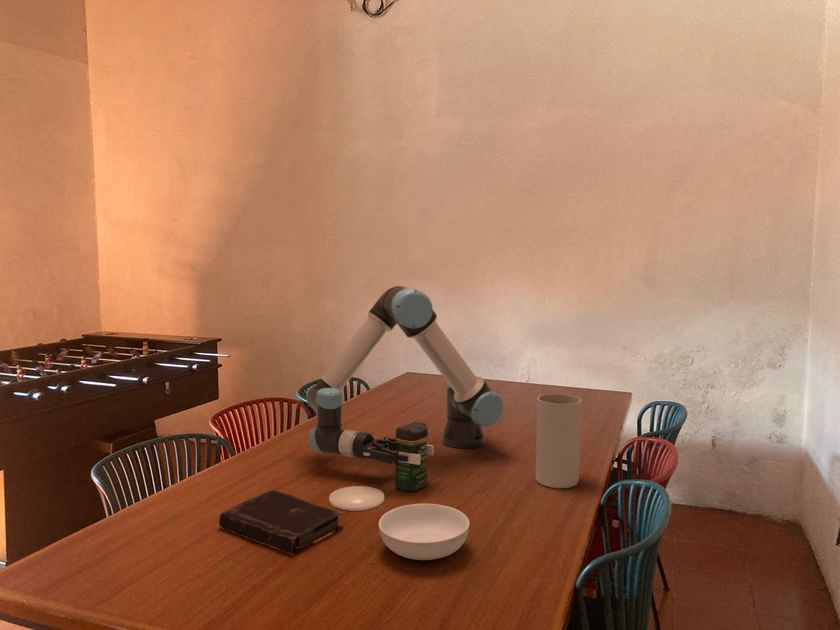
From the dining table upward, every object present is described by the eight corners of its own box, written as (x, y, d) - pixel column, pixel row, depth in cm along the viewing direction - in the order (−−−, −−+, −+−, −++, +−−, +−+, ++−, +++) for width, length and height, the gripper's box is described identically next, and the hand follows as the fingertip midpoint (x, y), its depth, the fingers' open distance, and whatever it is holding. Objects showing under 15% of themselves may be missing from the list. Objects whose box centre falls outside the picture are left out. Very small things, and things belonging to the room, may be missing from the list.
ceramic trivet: (385, 489, 190) (385, 486, 190) (382, 511, 175) (382, 507, 175) (332, 489, 190) (332, 486, 190) (325, 510, 175) (325, 507, 175)
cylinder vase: (580, 476, 201) (583, 395, 198) (576, 491, 189) (578, 405, 186) (539, 472, 205) (541, 392, 202) (532, 486, 193) (534, 402, 190)
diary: (291, 559, 150) (291, 538, 149) (219, 532, 164) (218, 512, 164) (346, 529, 165) (345, 509, 165) (275, 506, 179) (274, 488, 179)
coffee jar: (413, 494, 186) (413, 430, 184) (390, 488, 191) (390, 425, 189) (432, 484, 194) (432, 422, 192) (409, 478, 199) (410, 417, 197)
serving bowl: (377, 531, 163) (377, 504, 163) (462, 528, 165) (462, 501, 164) (379, 573, 143) (379, 543, 142) (476, 570, 144) (476, 540, 144)
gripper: (374, 446, 209) (440, 456, 200) (338, 467, 190) (410, 479, 180) (374, 423, 208) (441, 432, 199) (338, 442, 189) (410, 453, 179)
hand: (426, 454), depth 190 cm, fingers closed on coffee jar, 8 cm apart
